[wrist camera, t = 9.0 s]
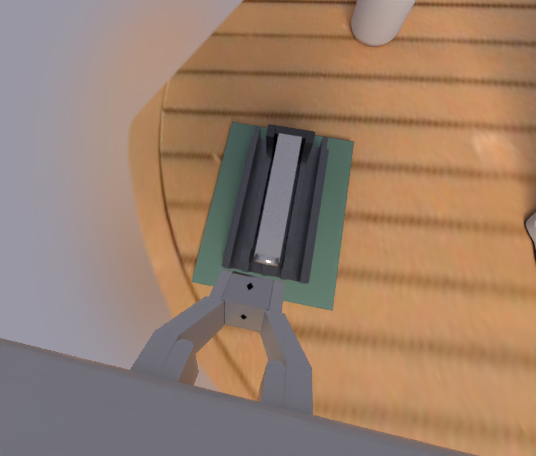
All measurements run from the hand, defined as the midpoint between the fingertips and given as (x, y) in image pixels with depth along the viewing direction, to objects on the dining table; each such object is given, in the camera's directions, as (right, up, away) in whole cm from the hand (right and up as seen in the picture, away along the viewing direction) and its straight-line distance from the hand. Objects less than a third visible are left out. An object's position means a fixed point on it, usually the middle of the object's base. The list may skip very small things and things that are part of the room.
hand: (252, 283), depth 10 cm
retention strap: (+2, +6, +16) cm, 17 cm away
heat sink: (+2, +6, +21) cm, 22 cm away
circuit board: (+2, +6, +21) cm, 22 cm away
